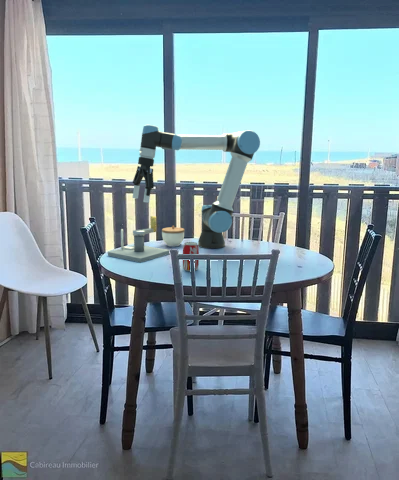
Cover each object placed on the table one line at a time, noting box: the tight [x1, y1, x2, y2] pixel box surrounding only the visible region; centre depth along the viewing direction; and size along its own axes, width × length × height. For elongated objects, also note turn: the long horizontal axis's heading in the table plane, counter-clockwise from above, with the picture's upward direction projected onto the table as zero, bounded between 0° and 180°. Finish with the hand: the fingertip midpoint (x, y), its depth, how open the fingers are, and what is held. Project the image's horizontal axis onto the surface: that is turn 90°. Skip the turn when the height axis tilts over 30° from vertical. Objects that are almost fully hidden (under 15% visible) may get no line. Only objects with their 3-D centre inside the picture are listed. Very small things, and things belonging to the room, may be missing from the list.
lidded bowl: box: [161, 225, 185, 247], centre depth 231 cm, size 13×13×11 cm
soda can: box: [182, 241, 200, 272], centre depth 180 cm, size 7×7×12 cm
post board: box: [107, 228, 170, 263], centre depth 206 cm, size 22×22×12 cm
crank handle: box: [132, 215, 157, 237], centre depth 209 cm, size 16×6×8 cm, turn 146°
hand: (140, 200), depth 205 cm, fingers open, 13 cm apart
